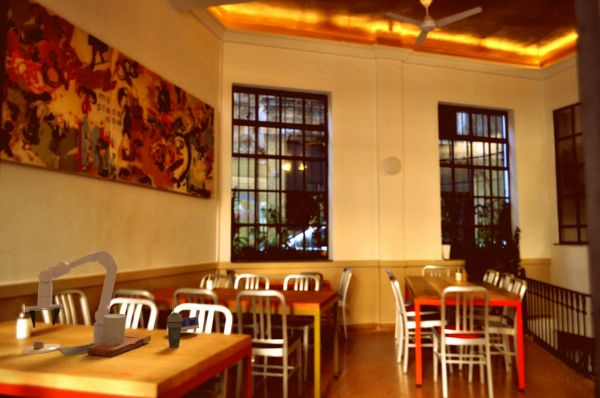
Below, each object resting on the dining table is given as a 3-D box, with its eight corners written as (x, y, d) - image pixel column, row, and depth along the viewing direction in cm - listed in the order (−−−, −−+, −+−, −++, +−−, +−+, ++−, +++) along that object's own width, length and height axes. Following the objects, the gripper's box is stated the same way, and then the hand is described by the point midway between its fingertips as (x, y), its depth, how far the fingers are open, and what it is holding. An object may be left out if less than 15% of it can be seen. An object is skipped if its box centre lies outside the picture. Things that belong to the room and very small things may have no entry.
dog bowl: (178, 319, 230) (179, 331, 229) (203, 315, 241) (204, 327, 240) (163, 321, 240) (163, 333, 239) (188, 318, 251) (189, 329, 250)
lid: (62, 343, 213) (61, 335, 214) (58, 351, 198) (57, 342, 198) (20, 349, 207) (20, 340, 207) (12, 358, 191) (12, 348, 191)
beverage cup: (177, 349, 206) (178, 304, 208) (163, 348, 208) (163, 303, 209) (185, 345, 213) (185, 302, 215) (170, 344, 215) (171, 301, 216)
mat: (94, 345, 212) (94, 343, 212) (102, 352, 200) (102, 350, 200) (58, 350, 203) (58, 348, 203) (64, 358, 191) (64, 355, 191)
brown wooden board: (151, 341, 219) (151, 334, 219) (112, 358, 190) (113, 350, 190) (127, 338, 222) (127, 332, 222) (85, 354, 193) (86, 346, 193)
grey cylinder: (121, 346, 199) (123, 318, 199) (98, 346, 197) (100, 317, 198) (126, 341, 208) (128, 313, 209) (104, 340, 207) (106, 313, 207)
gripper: (61, 293, 215) (60, 323, 214) (25, 296, 206) (24, 326, 205) (63, 295, 209) (62, 325, 208) (27, 298, 201) (25, 329, 200)
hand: (43, 326), depth 206 cm, fingers open, 7 cm apart
